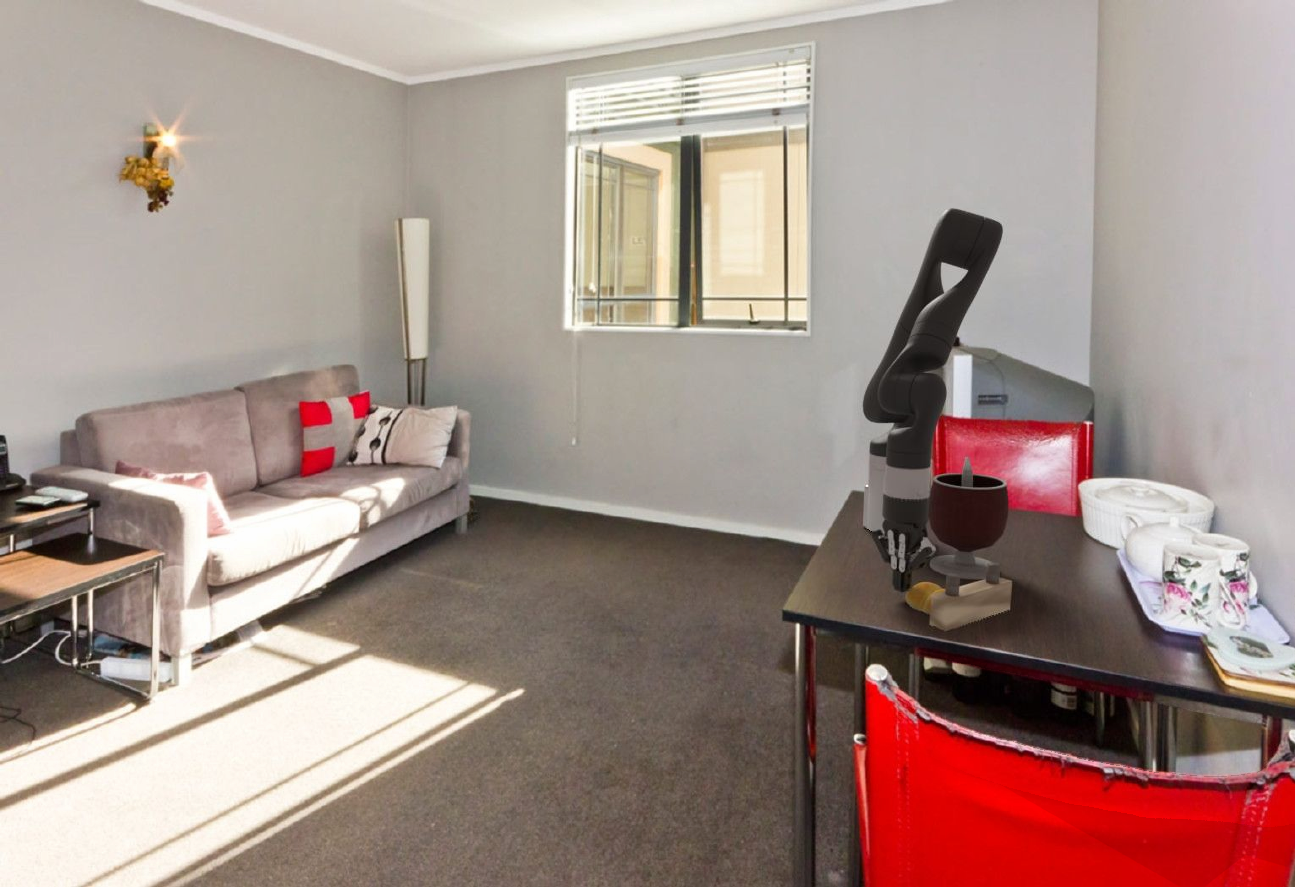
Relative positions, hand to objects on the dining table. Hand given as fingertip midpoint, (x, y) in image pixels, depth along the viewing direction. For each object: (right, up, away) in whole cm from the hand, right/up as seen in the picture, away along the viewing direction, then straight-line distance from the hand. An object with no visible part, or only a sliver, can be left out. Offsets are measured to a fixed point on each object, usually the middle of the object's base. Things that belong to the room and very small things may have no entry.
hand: (901, 590), depth 135 cm
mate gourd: (+17, +1, +16) cm, 24 cm away
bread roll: (+4, -3, -3) cm, 6 cm away
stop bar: (+9, -3, -8) cm, 12 cm away
